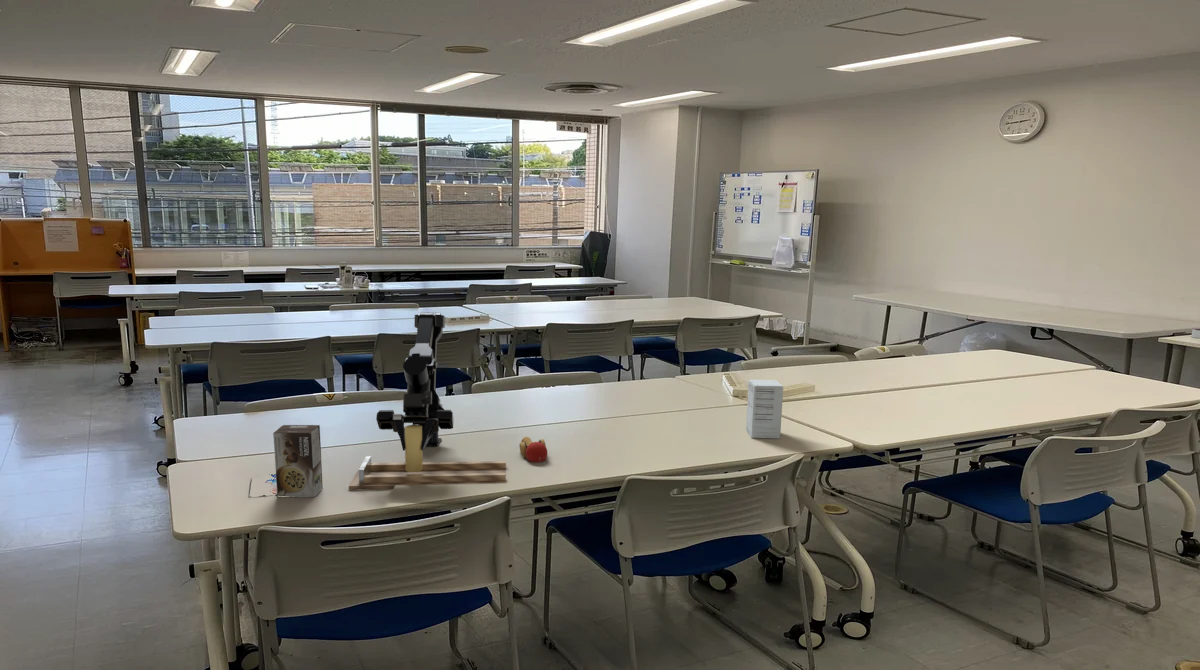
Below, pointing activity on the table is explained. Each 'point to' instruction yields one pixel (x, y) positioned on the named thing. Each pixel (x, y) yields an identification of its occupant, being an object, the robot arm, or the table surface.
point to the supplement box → (764, 408)
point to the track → (431, 474)
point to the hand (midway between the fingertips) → (413, 449)
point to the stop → (364, 469)
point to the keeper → (413, 448)
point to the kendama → (533, 450)
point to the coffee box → (298, 460)
